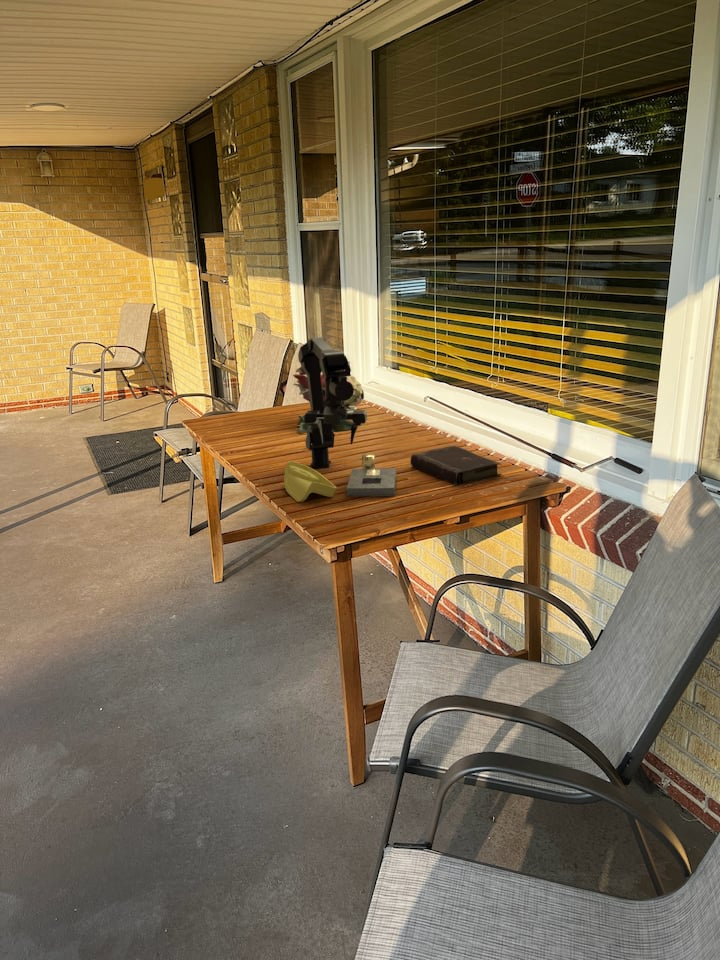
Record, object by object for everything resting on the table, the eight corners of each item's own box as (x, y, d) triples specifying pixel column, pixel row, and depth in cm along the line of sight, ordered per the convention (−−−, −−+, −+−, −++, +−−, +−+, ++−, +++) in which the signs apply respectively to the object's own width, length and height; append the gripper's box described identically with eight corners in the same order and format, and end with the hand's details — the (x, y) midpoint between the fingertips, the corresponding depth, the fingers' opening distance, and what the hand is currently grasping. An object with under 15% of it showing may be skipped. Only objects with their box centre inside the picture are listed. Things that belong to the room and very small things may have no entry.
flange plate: (352, 476, 233) (352, 468, 232) (396, 475, 232) (396, 467, 231) (346, 496, 214) (346, 487, 213) (394, 496, 213) (394, 487, 212)
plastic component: (339, 489, 214) (309, 480, 208) (329, 512, 215) (299, 504, 209) (312, 467, 231) (284, 458, 225) (303, 489, 232) (275, 480, 226)
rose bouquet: (370, 428, 295) (367, 354, 286) (300, 436, 286) (296, 360, 277) (349, 415, 318) (346, 346, 309) (284, 423, 309) (279, 352, 300)
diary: (455, 487, 220) (455, 471, 218) (410, 468, 241) (410, 453, 239) (503, 476, 228) (503, 461, 227) (456, 459, 249) (456, 444, 248)
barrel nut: (363, 471, 238) (362, 453, 236) (375, 471, 237) (374, 453, 236) (362, 475, 234) (361, 457, 232) (374, 475, 234) (373, 457, 232)
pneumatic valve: (364, 412, 323) (363, 386, 319) (338, 414, 320) (337, 388, 317) (362, 410, 328) (361, 384, 324) (336, 412, 326) (335, 385, 322)
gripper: (299, 400, 212) (302, 451, 217) (362, 399, 210) (364, 451, 215) (306, 392, 223) (308, 441, 228) (366, 391, 221) (367, 441, 226)
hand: (336, 443), depth 224 cm, fingers open, 9 cm apart
